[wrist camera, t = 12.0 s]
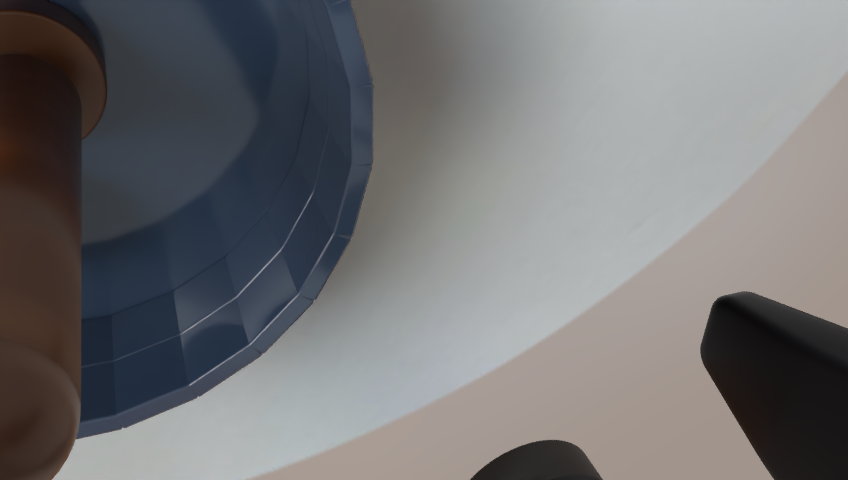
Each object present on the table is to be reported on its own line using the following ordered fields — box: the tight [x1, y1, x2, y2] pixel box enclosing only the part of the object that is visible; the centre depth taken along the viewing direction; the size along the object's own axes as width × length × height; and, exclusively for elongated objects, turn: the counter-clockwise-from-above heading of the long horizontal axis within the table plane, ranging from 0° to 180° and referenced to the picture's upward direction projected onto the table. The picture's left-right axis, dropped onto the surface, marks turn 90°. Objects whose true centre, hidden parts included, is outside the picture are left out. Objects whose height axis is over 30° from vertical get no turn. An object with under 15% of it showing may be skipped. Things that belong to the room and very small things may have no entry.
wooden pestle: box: [0, 0, 107, 480], centre depth 12 cm, size 3×3×12 cm
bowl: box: [46, 0, 373, 439], centre depth 16 cm, size 14×14×4 cm
